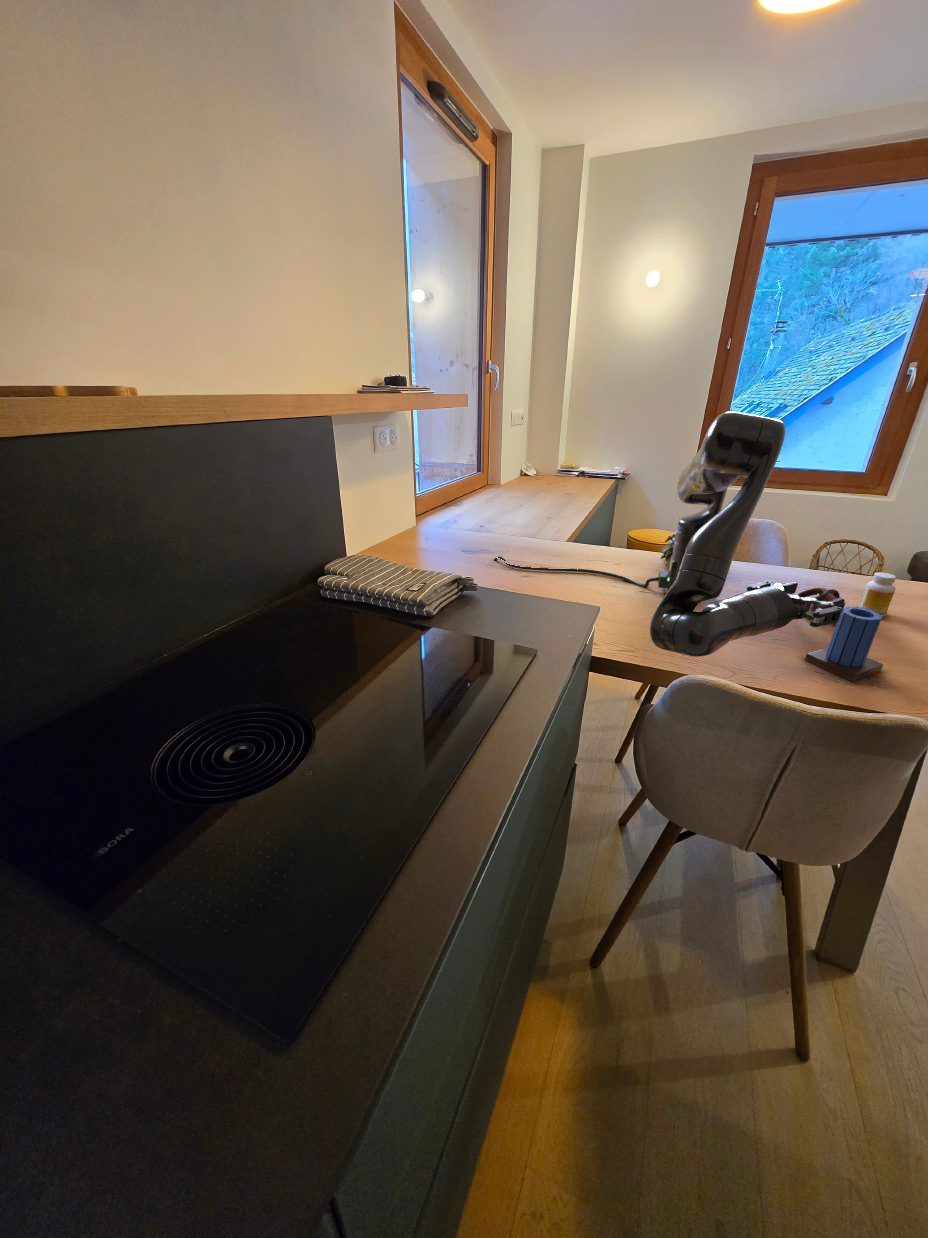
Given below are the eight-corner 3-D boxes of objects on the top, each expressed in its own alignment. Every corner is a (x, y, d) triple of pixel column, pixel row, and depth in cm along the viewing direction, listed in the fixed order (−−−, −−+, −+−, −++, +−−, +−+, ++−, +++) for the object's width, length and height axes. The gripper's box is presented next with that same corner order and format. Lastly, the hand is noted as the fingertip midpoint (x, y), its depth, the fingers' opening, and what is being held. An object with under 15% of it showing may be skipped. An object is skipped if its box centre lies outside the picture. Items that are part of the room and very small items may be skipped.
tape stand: (851, 681, 92) (868, 637, 88) (804, 660, 100) (818, 617, 96) (880, 671, 95) (898, 627, 91) (833, 650, 103) (847, 609, 99)
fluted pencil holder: (831, 664, 95) (848, 617, 91) (822, 649, 100) (837, 604, 96) (868, 669, 93) (887, 621, 89) (856, 653, 99) (874, 608, 94)
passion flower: (664, 577, 158) (672, 542, 159) (700, 578, 150) (708, 542, 152) (651, 565, 149) (660, 528, 151) (688, 566, 142) (697, 527, 143)
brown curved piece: (833, 633, 111) (820, 601, 110) (791, 634, 119) (778, 604, 118) (859, 608, 115) (847, 576, 114) (816, 610, 124) (804, 582, 123)
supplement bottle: (890, 618, 116) (905, 579, 112) (864, 616, 117) (878, 578, 113) (877, 609, 121) (892, 571, 117) (853, 607, 122) (866, 570, 118)
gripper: (801, 608, 77) (866, 589, 83) (725, 578, 89) (786, 564, 94) (788, 649, 80) (851, 629, 86) (716, 615, 92) (775, 599, 98)
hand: (817, 595), depth 90 cm, fingers open, 8 cm apart
